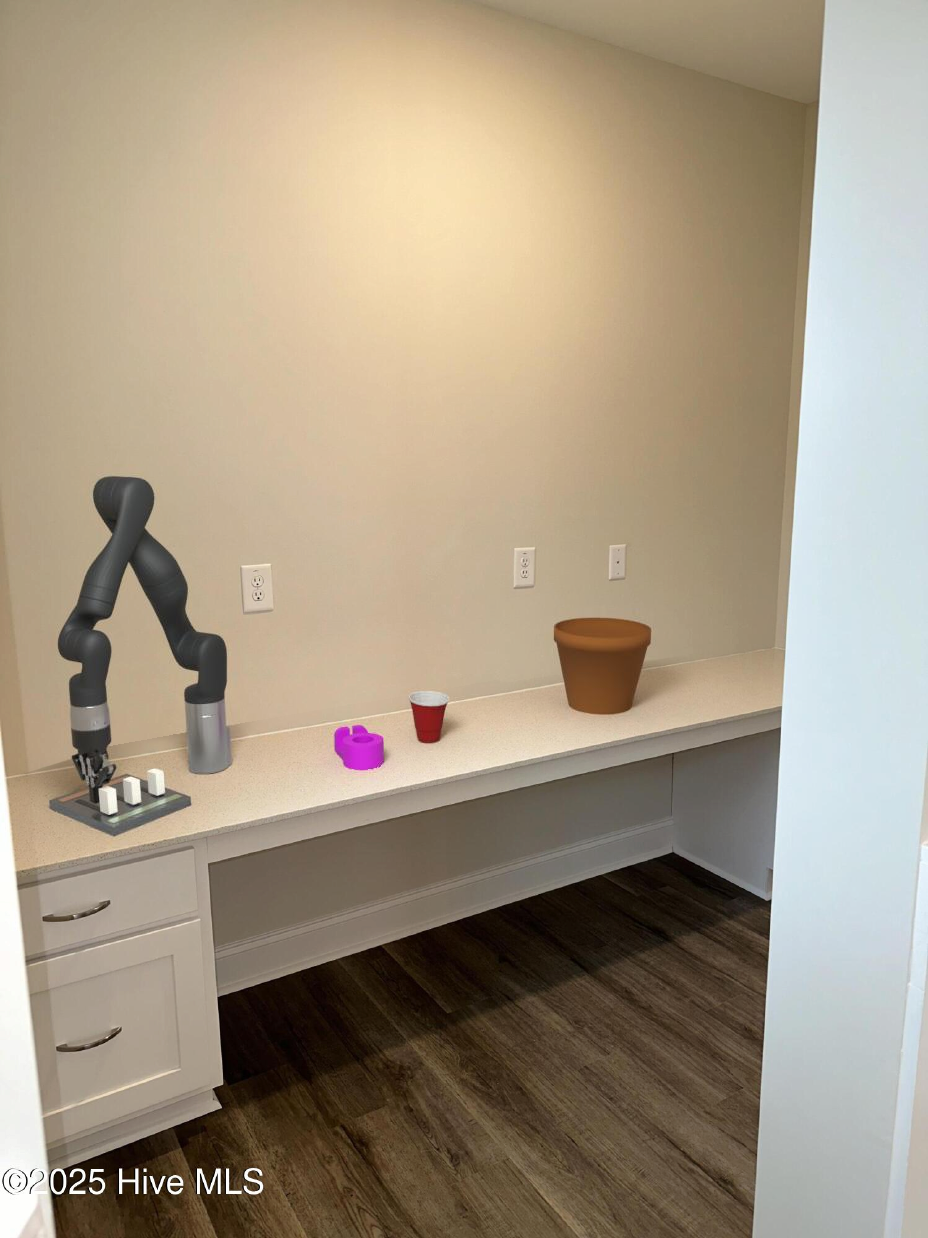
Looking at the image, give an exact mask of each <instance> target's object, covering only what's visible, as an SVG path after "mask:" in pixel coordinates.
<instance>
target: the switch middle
mask: <svg viewBox="0 0 928 1238" xmlns="http://www.w3.org/2000/svg"><path fill="white" fill-rule="evenodd" d="M123 789H124V801H125V802H127V803H130V804H132V805H134V804H137V803H139V802H141V792H140V780H139V779H136V778H134V777H128V778H125V779H123Z"/></svg>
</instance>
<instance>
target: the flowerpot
mask: <svg viewBox="0 0 928 1238" xmlns="http://www.w3.org/2000/svg"><path fill="white" fill-rule="evenodd" d="M651 640H652V628H651V627H650V626H649V625H647V624H645V623H642V622H639V621H634V620H629V619H625V618H624V619H621V618H612V617H579V618H569V619H564V620H560V621H558V622H556V623H555V624H554V626H553V641H554V642H555V643H556V648H557V652H558V654H557V655H558V658H559V662H560V663H559V664H560V667H561V668H560V669H561V675H562V678H563V682H564V688H565V694H566V697H567V698H566V699H567V704H568V707H570V708H571V709H572V710H575V711H577V712H581V713H584V714H590V715H607V716H608V715H616V714H617V715H619V714H621V713H622V714H623V713H625V712H628V711H629V710H631V708H632V706H633V702H634V699H635V698H634V697H635V694H636V692H637V687H638V683H639V680H640V677H641V672H642V670H643V666H644V661H645V659H646V654H647V652H648V651H647V649H648V647H649V646H650V645H651V644H652V643H651V642H652V641H651Z"/></svg>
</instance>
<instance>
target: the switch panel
mask: <svg viewBox="0 0 928 1238" xmlns="http://www.w3.org/2000/svg"><path fill="white" fill-rule="evenodd" d="M128 777H134V778H136V779H139V780H140V792H141V802H139V803H137V804H134V805H132V804H130V803H127V802H125V801H124V789H123V779H125V778H128ZM105 786H109V787H112V788H114V789H116V798H117V810H118V812H115V813H113V814H110V815H108V814H106V813H103V812H101V811H100V802H99V803H96V804H95V803H93V802H91V801H90V795H89V786H86V787H83V788H82V789H78V790H74V791H72V792H69V793H67V794H63V795H61V796H58V797H55V798H52V799H49V800H48V802H49V809H50V810H51V809H52V810H51V811H54V810H55V811H54V812H56V811H57V813H59V814H60V815H63V814H64V815H63V816H65V815H66V817H68V818H70V819H73V820H75V821H77V822H80V823H81V824H84V825H87V826H89V827H91V828H94V829H95V830H99V831H101V832H102V833H105V834H108V835H109V836H111V837H116V836H118V835H121V834H124V833H126V832H128V831H131V830H133V829H135V828H138V827H142V826H144V825H146V824H148V823H150V822H153V821H156V820H157V819H161V818H163V817H166V816H168V815H170V814H173V813H175V812H177V811H180V810H183V809H185V808H187V807H190V806H192V798H191V796H190V795H187V794H184V793H181V792H179V791H176V790H173V789H170V788H168V787H165V793H163V794H160V795H158V796H157V795H154V794H151V793H149V791H148V780H146V779H143V778H140V777H136V776H134V775H131V774H129V773H124V774H121V775H118V776H115V777H112V778H111V780H110V782H109V783H107V784H104V785H103V787H105Z"/></svg>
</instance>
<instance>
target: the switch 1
mask: <svg viewBox="0 0 928 1238" xmlns="http://www.w3.org/2000/svg"><path fill="white" fill-rule="evenodd" d="M99 800H100V811H101V812H103V813H106V814H108V815H110V814H113V813H115V812H118V810H117V798H116V789H114V788H112V787H109V786H105V787H102V788H99Z"/></svg>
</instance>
